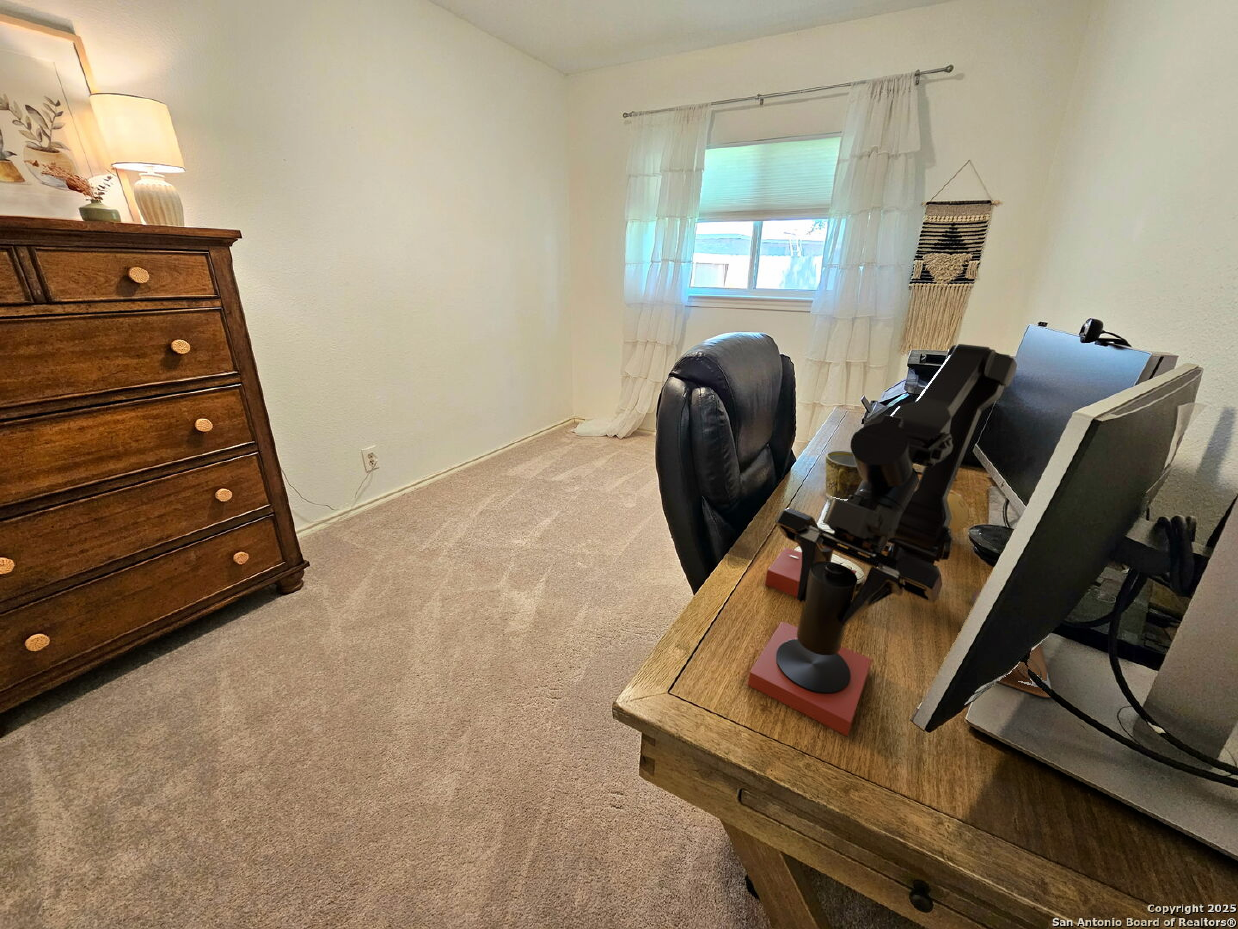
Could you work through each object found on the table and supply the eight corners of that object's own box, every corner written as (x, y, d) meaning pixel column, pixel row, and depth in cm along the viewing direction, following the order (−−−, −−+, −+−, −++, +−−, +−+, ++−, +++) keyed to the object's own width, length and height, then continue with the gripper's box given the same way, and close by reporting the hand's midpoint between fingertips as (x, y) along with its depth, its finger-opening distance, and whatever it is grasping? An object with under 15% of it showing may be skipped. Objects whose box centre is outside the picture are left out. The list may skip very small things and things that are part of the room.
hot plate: (868, 671, 64) (872, 657, 63) (847, 736, 55) (851, 720, 54) (779, 633, 71) (782, 619, 70) (747, 685, 62) (750, 670, 61)
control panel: (855, 580, 83) (859, 565, 82) (839, 613, 75) (843, 597, 74) (786, 556, 89) (788, 542, 88) (764, 584, 81) (767, 568, 80)
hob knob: (806, 554, 85) (810, 533, 83) (832, 563, 82) (837, 541, 81) (798, 566, 81) (802, 544, 80) (825, 575, 79) (830, 553, 77)
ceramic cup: (824, 485, 120) (832, 447, 116) (868, 496, 114) (877, 457, 110) (809, 504, 110) (817, 463, 106) (856, 517, 104) (866, 475, 101)
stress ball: (893, 525, 102) (905, 482, 98) (928, 518, 105) (940, 476, 101) (936, 549, 93) (951, 503, 89) (972, 541, 96) (988, 496, 92)
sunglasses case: (1060, 701, 60) (1041, 654, 59) (991, 700, 64) (973, 656, 63) (1035, 619, 74) (1020, 580, 73) (981, 623, 78) (966, 586, 78)
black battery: (845, 637, 61) (863, 565, 57) (834, 662, 57) (853, 587, 53) (803, 620, 64) (818, 550, 60) (790, 643, 60) (805, 570, 56)
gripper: (793, 450, 61) (732, 555, 58) (964, 501, 48) (895, 640, 45) (813, 489, 69) (760, 583, 66) (964, 542, 56) (906, 662, 53)
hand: (820, 612), depth 58 cm, fingers closed on black battery, 5 cm apart
